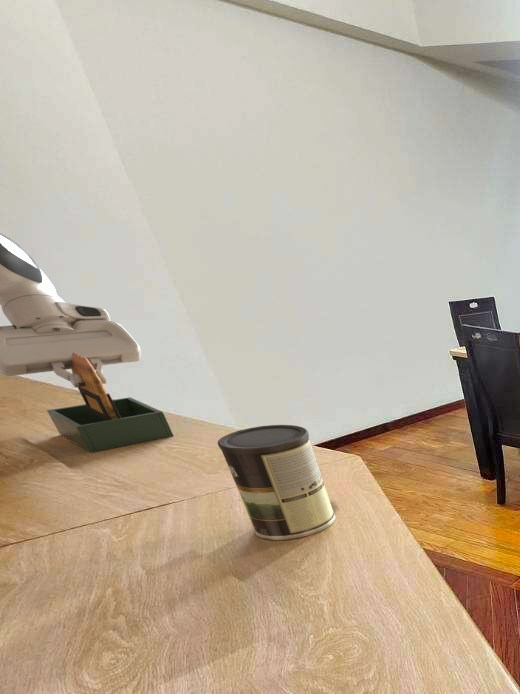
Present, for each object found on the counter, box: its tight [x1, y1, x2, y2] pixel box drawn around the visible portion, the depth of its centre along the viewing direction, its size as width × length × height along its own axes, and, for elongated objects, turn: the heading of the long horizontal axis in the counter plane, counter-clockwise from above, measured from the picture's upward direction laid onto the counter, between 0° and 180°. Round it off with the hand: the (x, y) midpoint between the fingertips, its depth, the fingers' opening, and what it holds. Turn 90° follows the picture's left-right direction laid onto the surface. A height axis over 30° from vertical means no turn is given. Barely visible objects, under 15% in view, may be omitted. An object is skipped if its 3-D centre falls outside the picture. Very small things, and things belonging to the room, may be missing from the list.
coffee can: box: [217, 424, 337, 541], centre depth 86 cm, size 10×10×14 cm
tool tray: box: [46, 396, 174, 453], centre depth 117 cm, size 13×17×5 cm
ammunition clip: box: [70, 353, 121, 421], centre depth 114 cm, size 11×2×12 cm, turn 58°
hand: (91, 383), depth 113 cm, fingers closed on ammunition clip, 2 cm apart
